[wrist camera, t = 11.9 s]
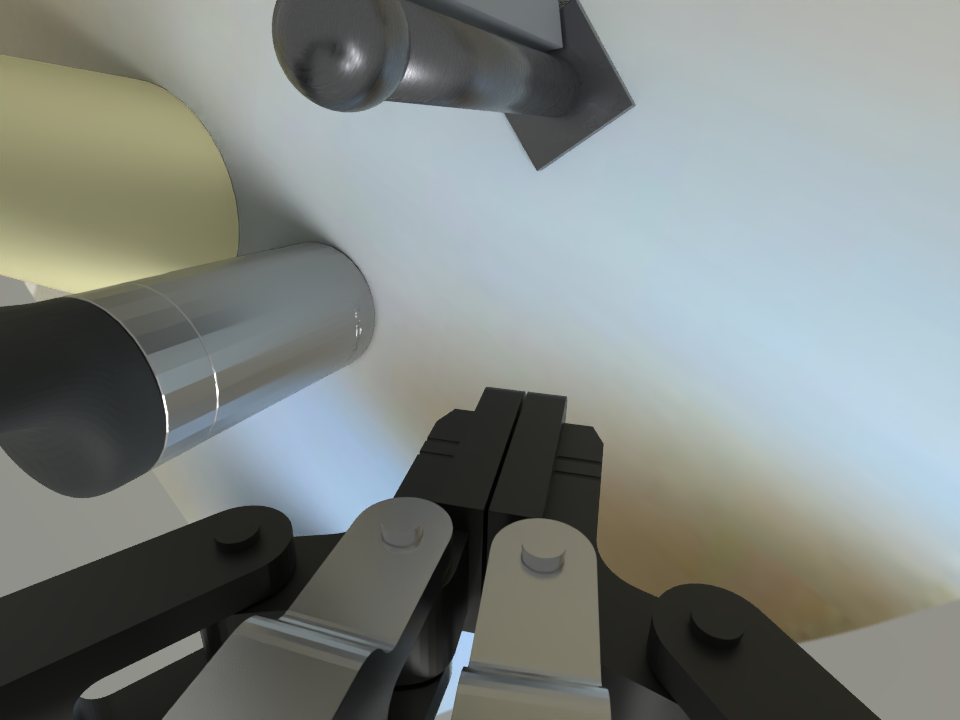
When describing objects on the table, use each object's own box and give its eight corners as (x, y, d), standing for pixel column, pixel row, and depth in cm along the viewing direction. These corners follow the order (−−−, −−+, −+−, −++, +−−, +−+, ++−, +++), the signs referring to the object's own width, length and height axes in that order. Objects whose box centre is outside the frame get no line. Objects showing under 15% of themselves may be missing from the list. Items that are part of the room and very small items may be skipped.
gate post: (541, 170, 35) (288, 204, 17) (488, 75, 34) (168, 3, 16) (635, 105, 32) (453, 59, 13) (578, 0, 31) (311, -193, 13)
